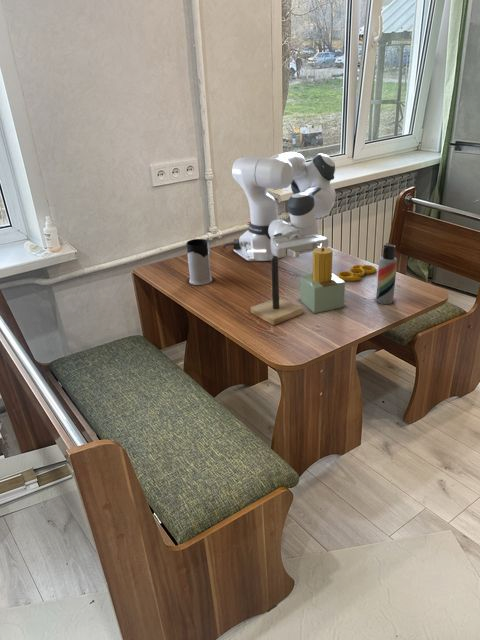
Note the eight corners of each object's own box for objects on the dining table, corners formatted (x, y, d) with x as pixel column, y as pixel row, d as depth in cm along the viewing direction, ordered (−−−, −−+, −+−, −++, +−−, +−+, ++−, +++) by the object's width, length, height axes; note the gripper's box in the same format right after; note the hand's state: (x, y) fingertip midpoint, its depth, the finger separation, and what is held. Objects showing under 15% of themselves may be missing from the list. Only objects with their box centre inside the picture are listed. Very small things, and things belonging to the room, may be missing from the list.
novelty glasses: (330, 275, 201) (347, 283, 193) (331, 271, 200) (347, 280, 193) (365, 265, 208) (382, 273, 200) (365, 262, 207) (382, 270, 199)
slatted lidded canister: (309, 277, 177) (309, 246, 172) (326, 274, 179) (326, 243, 174) (321, 287, 170) (322, 255, 165) (339, 283, 172) (340, 252, 166)
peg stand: (250, 312, 176) (247, 255, 166) (278, 302, 183) (276, 246, 172) (273, 325, 168) (271, 265, 158) (301, 313, 174) (301, 255, 164)
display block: (300, 300, 183) (300, 276, 178) (328, 294, 186) (329, 270, 182) (314, 313, 174) (314, 288, 170) (343, 306, 178) (345, 282, 173)
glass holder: (185, 283, 199) (180, 245, 192) (201, 269, 211) (198, 232, 203) (206, 286, 196) (202, 247, 189) (221, 271, 208) (218, 234, 200)
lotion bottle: (372, 299, 182) (377, 243, 171) (386, 295, 183) (391, 240, 173) (382, 305, 177) (387, 248, 167) (396, 302, 179) (402, 245, 169)
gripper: (318, 244, 197) (336, 256, 186) (267, 253, 191) (282, 266, 180) (318, 227, 194) (336, 239, 183) (266, 236, 188) (282, 249, 177)
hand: (309, 252), depth 181 cm, fingers open, 8 cm apart
